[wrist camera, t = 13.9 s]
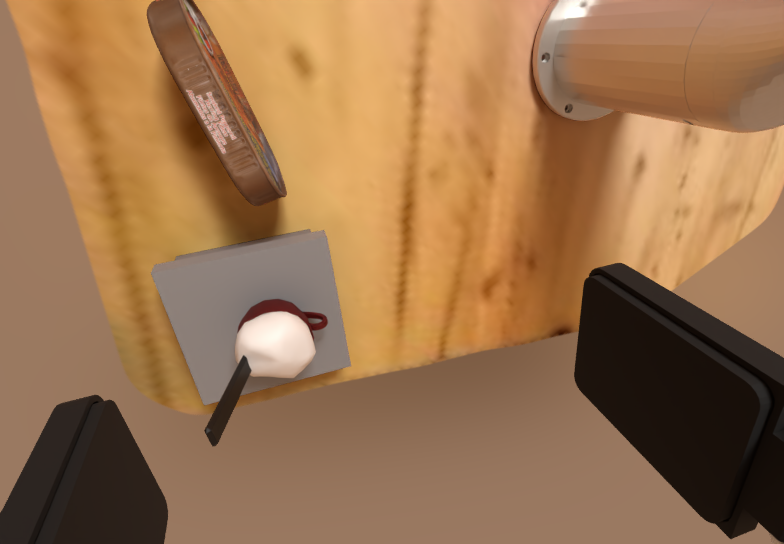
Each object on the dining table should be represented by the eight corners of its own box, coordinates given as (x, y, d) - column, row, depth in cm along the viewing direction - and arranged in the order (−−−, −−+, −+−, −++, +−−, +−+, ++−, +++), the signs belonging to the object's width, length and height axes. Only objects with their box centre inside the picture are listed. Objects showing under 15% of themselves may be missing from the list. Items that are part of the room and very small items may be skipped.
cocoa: (323, 290, 42) (358, 367, 31) (314, 350, 44) (344, 440, 34) (210, 286, 38) (207, 372, 28) (206, 352, 40) (203, 453, 30)
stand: (318, 217, 43) (326, 236, 39) (341, 337, 50) (351, 366, 46) (160, 248, 41) (151, 273, 36) (207, 372, 47) (204, 405, 43)
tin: (286, 178, 41) (295, 208, 34) (253, 193, 41) (255, 226, 34) (193, -9, 33) (179, -22, 26) (151, 8, 33) (126, -1, 26)
